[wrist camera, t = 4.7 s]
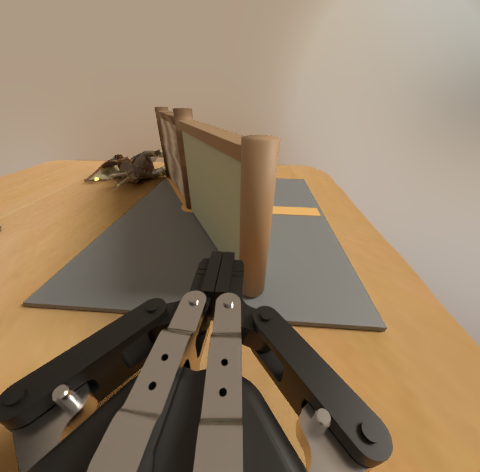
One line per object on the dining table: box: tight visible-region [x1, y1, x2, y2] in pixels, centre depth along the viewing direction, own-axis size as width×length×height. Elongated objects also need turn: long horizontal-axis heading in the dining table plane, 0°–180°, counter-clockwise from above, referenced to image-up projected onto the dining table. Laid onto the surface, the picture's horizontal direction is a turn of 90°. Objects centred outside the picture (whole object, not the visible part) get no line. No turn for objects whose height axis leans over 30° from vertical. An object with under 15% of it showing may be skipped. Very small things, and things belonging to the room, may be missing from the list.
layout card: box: [23, 176, 387, 331], centre depth 34 cm, size 31×37×1 cm
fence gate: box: [179, 120, 280, 297], centre depth 23 cm, size 20×2×13 cm, turn 26°
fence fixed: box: [155, 107, 193, 210], centre depth 38 cm, size 20×2×14 cm, turn 26°
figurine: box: [84, 150, 167, 190], centre depth 48 cm, size 20×6×17 cm
